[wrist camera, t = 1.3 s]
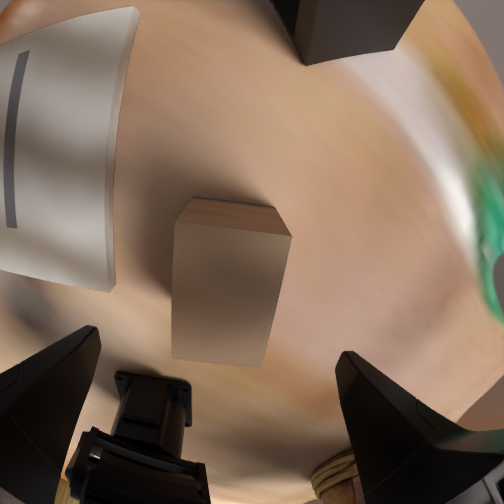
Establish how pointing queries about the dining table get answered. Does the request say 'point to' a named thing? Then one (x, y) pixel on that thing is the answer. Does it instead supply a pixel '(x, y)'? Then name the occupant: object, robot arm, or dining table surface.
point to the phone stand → (344, 26)
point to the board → (62, 147)
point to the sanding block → (226, 280)
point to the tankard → (338, 481)
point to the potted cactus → (64, 494)
